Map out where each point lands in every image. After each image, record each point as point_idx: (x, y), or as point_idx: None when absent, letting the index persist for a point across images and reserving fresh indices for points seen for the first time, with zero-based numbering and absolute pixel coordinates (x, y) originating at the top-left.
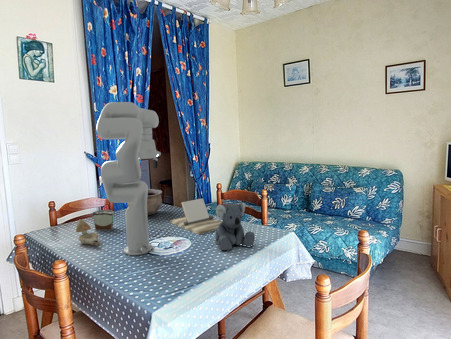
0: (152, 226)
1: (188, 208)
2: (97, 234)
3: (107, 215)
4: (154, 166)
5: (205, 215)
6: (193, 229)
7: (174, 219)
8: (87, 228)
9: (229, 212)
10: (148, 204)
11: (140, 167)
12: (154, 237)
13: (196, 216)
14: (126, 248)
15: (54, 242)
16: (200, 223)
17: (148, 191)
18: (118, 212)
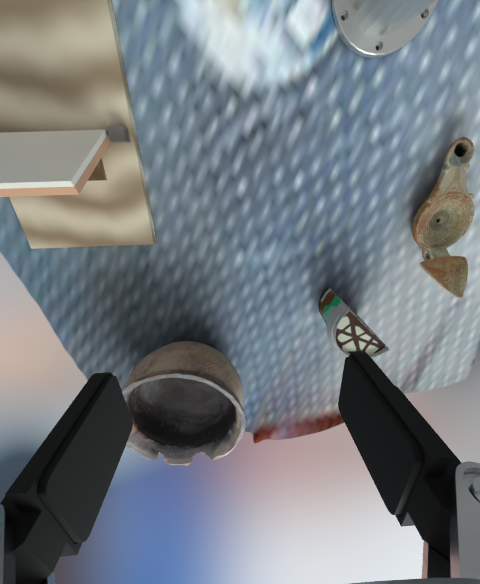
0: (222, 241)
1: (62, 160)
2: (424, 212)
3: (354, 315)
4: (114, 417)
5: (6, 138)
6: (113, 38)
7: (138, 240)
8: (434, 262)
9: None
10: (191, 352)
11: (365, 383)
12: (269, 109)
13: (52, 138)
14: (420, 14)
15: (474, 281)
16: (58, 109)
17: (152, 446)
18: None
